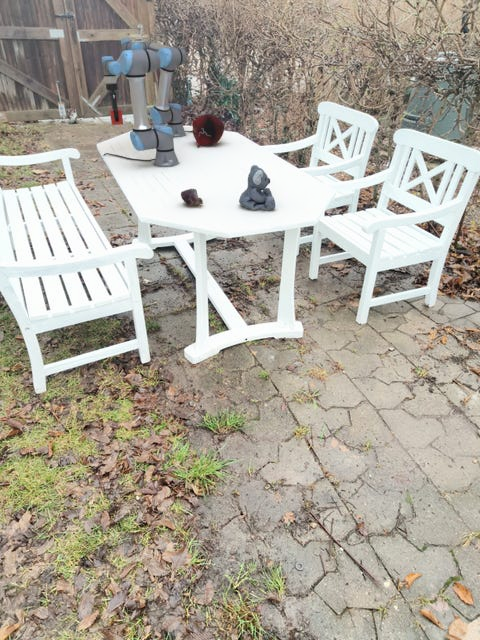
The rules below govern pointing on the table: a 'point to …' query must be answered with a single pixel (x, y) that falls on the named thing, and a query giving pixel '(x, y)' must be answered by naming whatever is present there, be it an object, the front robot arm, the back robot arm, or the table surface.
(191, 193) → the rock
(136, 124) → the front robot arm
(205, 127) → the dark red round lump
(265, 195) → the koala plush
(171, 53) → the back robot arm
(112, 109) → the brick
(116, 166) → the table surface
